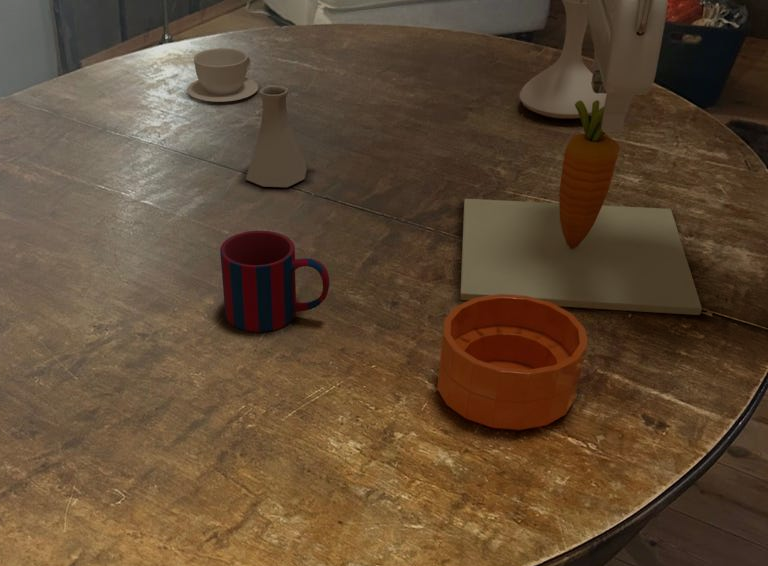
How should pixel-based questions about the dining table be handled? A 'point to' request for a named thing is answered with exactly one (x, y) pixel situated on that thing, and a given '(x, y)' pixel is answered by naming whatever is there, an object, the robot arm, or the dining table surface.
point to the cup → (263, 280)
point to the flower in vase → (565, 74)
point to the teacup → (222, 76)
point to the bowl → (510, 361)
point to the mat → (576, 258)
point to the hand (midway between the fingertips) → (605, 109)
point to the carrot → (585, 176)
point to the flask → (276, 144)
